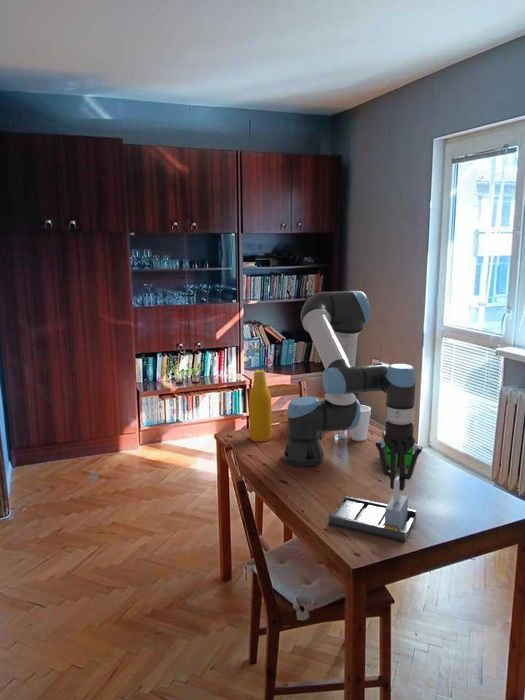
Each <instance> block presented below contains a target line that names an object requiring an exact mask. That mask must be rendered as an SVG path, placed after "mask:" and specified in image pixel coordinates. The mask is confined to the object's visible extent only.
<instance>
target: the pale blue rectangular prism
mask: <svg viewBox="0 0 525 700" xmlns="http://www.w3.org/2000/svg"><path fill="white" fill-rule="evenodd" d="M393 496H394V494H393V495H392V497H391V499H390V500H389V502H388V505H387V506H386V508H385V525H389V526H393V527H398V529H399V530H402V528H403V526H404V524H405V522H406V520H407V511H408V509H409V507H408V506H409V505H408V503H409V496H408V495H403V494H401V499H400V501H399V502H395V501H393Z"/></svg>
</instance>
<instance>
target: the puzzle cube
mask: <svg viewBox="0 0 525 700" xmlns="http://www.w3.org/2000/svg"><path fill="white" fill-rule="evenodd" d="M384 436H385V430H383V431H382V432H381V440H382V439H383V438H384ZM385 449H386V453H387V458H388V462H389V467H390V464H391V456H390V450H389V448H388V447H387V445H386V443H385ZM413 454H414V452H413V447H411V449H410V450H409V451H408V452H407V455H406V467H409V465H410V462H411V459H412V456H413ZM397 467H400V454H399V453H397Z"/></svg>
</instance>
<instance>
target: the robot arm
mask: <svg viewBox="0 0 525 700" xmlns="http://www.w3.org/2000/svg"><path fill="white" fill-rule="evenodd" d="M371 311H372V310H371V306H370V301H369V299H368V297H367V295H366V293H364V292H363V291H361V290H341V291H336V290H335V291H320V292H317V293H314V294H313V295H311V296H309V298H308V299H307V300H306V301H305V302H304V304H303V306H302V308H301V311H300V322H301V325H302V327H303V329H304V330H305V332H307V333H309V335H310V338H311V340H312V342H313V344H314V347H315V348H316V351H317V354H318V356H319V358H320V360H321V363H322V365H323V367H324V370H323V371H322V378H321V379H322V384H323V390H324V392H325V394H324V398H325V400H324V401H319V399H318V398H319V397H318V396H317V397H316V396H309V395H308V396H299V397H298V398H294V399H292V400H291V401H289V403H288V405H287V413H286V416H287V442H286V445H285V448H284V451H283V461H284V462H285V463H286V464H288V465H291V466H293V467H301V468H302V467H303V468H304V467H305V468H306V467H307V468H309V467H314V466H317V465H320V464H322V463H323V462H324V459H325V456H324V455H325V454H324V450H323V447H322V444H321V442H320V439H319V432H327V431H328V432H335V431H336V432H337V431H345V432H346V431H347V430H348V431H349V430H350V429H354V428H355V427H356V426H357V425H358V423H359V421H360V416H361V411H360V405H361V404H360V401H359V400H358V398H357V396H356V394H357V393H359V394H360V393H374V392H383V393H385V395H386V399H385V400H386V401H385V419H386V420H385V429H384V431H385V436H384V438H383V439H382V438H381V439H379V440H377V441H376V443H375V447H376V449H377V450H378V452H379V459H380V461H381V467H382V471H383V475H384V476H385V477H386V476H387V477H389V478H390V482H389V483H390V485H389V487H390V489H391V490H393V495H394V496H393V495H392V497H393V501H395V502H399V501H400V499H401V495H402V492H403V491H404V490H405V488H406V480H411V478H412V476H413V473H414V470H415V467H416V464H417V462H418V458H419V455H420V454H421V453H422V451H423V446H422V445H418V443H416V441H415V438H414V425H415V424H414V423H415V422H413V421H414V420H415V395H416V383H417V380H416V379H417V378H416V369H415V368H414V366H412V365H411V364H406V363H392V364H390V363H388V362H384V361H378V362H375V363H373V364H372V365H364V366H362V365H361V366H356V359H357V349H358V337H359V335H360V334H362V332H363V331H364V325H367V324H369V323H370V320H371V316H372V315H371ZM328 432H327V433H328ZM385 443H386V445H387V447H388V448H389V450H390V456H391V464H390V466H389V462H388V458H387V453H386V449H385ZM411 447H413V453H412V454H413V456H412V459H411V462H410V465H409V466H408V469H407V466H406V455H407V452H408V451H409V450H410V449H411ZM397 453H399V454H400V466H399V472H397V469H398V466H397ZM398 473H399V476H398V475H397V474H398Z"/></svg>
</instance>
